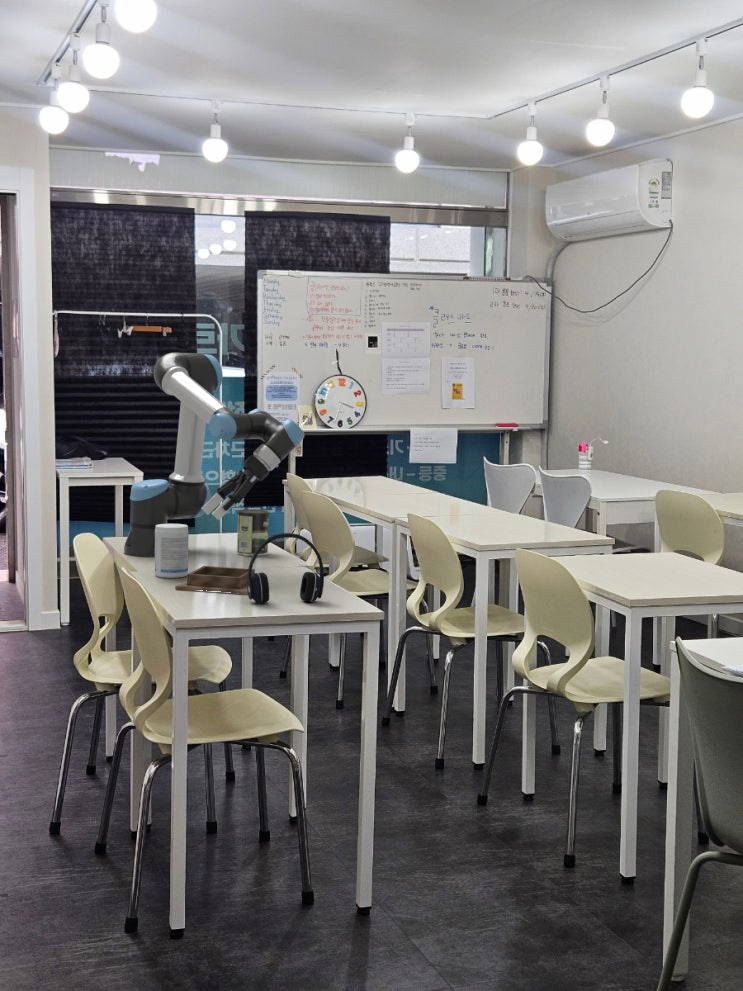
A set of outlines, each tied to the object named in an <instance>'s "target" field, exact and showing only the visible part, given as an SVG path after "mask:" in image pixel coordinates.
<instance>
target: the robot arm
mask: <svg viewBox="0 0 743 991" xmlns="http://www.w3.org/2000/svg"><path fill="white" fill-rule="evenodd" d="M153 378H154V382H155V384H156V385H157V386H158V388H160V390H161V391H163V392H164V393H165V394H167V395H169V396H174V397H175V398H176V399H177V400H179V401H180V408H179V409H180V410H179V418H178V429H177V430H178V431H177V440H176V450H175V451H176V453H175V461H174V462H175V463H174V471H173V472H172V473H171V474H169V476H168V480H166V479H159V478H157V479H156V478H155V479H147V480H146V479H145V480H140V481H136V482H134V483H133V485H131V489H130V490H131V491H130V496H129V499H130V516H129V517H130V518H129V522H130V524H129V527H130V528H129V531H128V534H127V537H126V540H125V543H124V546H123V552H124V554H125V555H129V556H136V557H155V528H156V525H158V524H168V520H180V519H181V520H182V519H187V520H189V519H193V518H199V517H202V516H203V515H204V514H206V515H209V514H210V513H211V515H212V516H213V517H215V519H216V520H217V521H220V520H221V519H222V518H223V517H224V516H225V515H226V514H227V513H228V512H229V511H230V510H231V509H232V508H234V506H235V505H236V504H240V503H241V502H242V501H243V499H244V498H245V497H246V496H247V494H248V493H249V492H250V491H251V489H252V487H254V485H255V484H257V482H258V481H259V482H261V481H263V480H264V479H265V478H266V477H267V476H268V475H269V474H270V472H271V471H273V470H274V469H275V468H278V467H279V464H280V463H281V462H282V461H283V460H284V459H286V457H287V456H288V455H289V454H290V453H291V452H292V451H293V450H294V449H296V447H298V445H299V444H300V443H301V442H302V440H304V438H305V432H304V430H303V429H302V428H301V426H299V425H298V424H297V423H296V422H295V421H294V420H292V419H290V418H289V419H286V420H284V421H283V422H282V421H280V420H278V419H277V418H275V417H274V416H273V415H271V413H269V412H267V411H265V410H263V409H261V408H255V409H253V410H250V411H249V412H248V413H237V412H234V411H233V410H231V409H230V408H229V407H228V406H226V405H225V404H224V403H223V402H222V401H220V400H219V399H218V398H216V397H215V396H214V392H216V391H217V390H218V389H220V386H221V387H222V384H223V378H224V375H223V369H222V365H221V364H220V363H219V360H218V359H217V358H216V357H215V356H213V355H212V354H206V353H198V352H197V353H195V352H193V353H192V352H175V351H174V352H169V353H166V354H164V355H162V356H161V357H160V358H159V359H158V360H157V361H156V363H155V365H154V369H153ZM206 423H207V424H208V430H209V432H210V434H211V436H212V438H214V439H217V440H224V441H226V440H227V441H228V440H253V439H254V440H261V441H263V442H262V443H261V444H260V445H259V446H258V447H257V448H256V449H255V450H254V451H253V455H250V456H249V457H247V459H245V461H244V462H243V466H244V467H245V470H244V471H243V470H242V469H241V470H239V471H238V472H237V473H236V474H235V475H234V476H233V477H231V478H230V479H228V480H227V481H226V482H225V483H223V485H221V486H220V487H218V488H217V490H216V493H215V494H214V495H213V496H211V491H210V488H209V486H208V484H206V482H205V481H206V479H205V478H204V476H203V474H202V464H203V455H204V454H203V453H204V446H205V445H204V444H205V435H206V434H205V433H206V425H207V424H206ZM217 506H218V507H217ZM215 508H216V509H215Z"/></svg>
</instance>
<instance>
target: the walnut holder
mask: <svg viewBox="0 0 743 991" xmlns="http://www.w3.org/2000/svg"><path fill="white" fill-rule="evenodd" d="M254 573H256V569H254V568H252V572H251V577H252V575H253V574H254ZM247 574H248V568H244V567H243V568H240V567H227V566H226V567H225V566H211V565H210V566H209V565H202V566H201V567H198V568H197V569H195V570H193V571H191V572H188V574H187V575H186V580H183V581H182V582H180V583H178V584H176V585H175V586H174V590H175V589H176V590H175V591H186V590H203V591H206V590H207V591H221V592H231V593H239V594H238V595H241V594H247V595H248V591H247Z"/></svg>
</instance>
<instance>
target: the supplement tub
mask: <svg viewBox="0 0 743 991" xmlns="http://www.w3.org/2000/svg"><path fill="white" fill-rule="evenodd" d="M187 574H189V526H188V525H187V524H185V523H184V524H182V523H167V524H158V525H156V528H155V556H154V575H155V576H156V577H159V578H163V579H164V578H166V579H176V578H183V577H184V578H185V577H187Z"/></svg>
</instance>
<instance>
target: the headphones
mask: <svg viewBox="0 0 743 991" xmlns="http://www.w3.org/2000/svg"><path fill="white" fill-rule="evenodd" d="M284 538H285V539H287V538H288V539H289V538H291V539H293V538H294V539H297V540H301V541H303V542H304V543H305V544H307V545H308V546H309V547H310V548H311V549H312V550H313V552H314V554H315V555H316V558H317V560H318V564H319V574H318V573H317V572H315V571H314V572H313V571H305V572H304V573H303V575H302V579H301V582H300V583H301V584H300V589H299V597H300V599H301V600H302V601H303V600H305V601H304V602H306V601H314V602H316V600H318V599H321V598H322V596H323V592H324V586H325V584H324V583H325V582H324V581H325V572H324V571H325V570H324V564H323V560H322V557H321V554H320V553H319V551H318V549H317V548H316V546H315V545H314V543H312V542H311V540H309V539H307V538H306V537H305V536H302V535H300V534H297V533H292V532H283V533H282V532H280V533H277V534H273V535H271V536H268V539H266V540H265V541H264V542H263V543H262V544H260V546H259V547H258V548H257V550H256V551H255V553H254V555H253V556H251V557H252V558H251V559H250V562H249V565H248V567H247V569H248V574H247V591H248V594H247V597H248V599H249V600H250V601H251V600H253V601H254V602H255V603H256V602H257V604H258V603H259V604H265V603H268V602H270V601H269V600H270V586H269V585H270V584H269V578H268V576H267V573H264V572H255V573H254V574H253V575H252V577H251V572H252V569H253V566H254V564H255V562H256V558H257V557H258V556H257V555H258V554H259V552H260V551H261V550H262V549H263V548H264V547H265V546H266V545H267V544H270V543H271V542H273V541H275V540H278V539H284Z"/></svg>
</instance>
